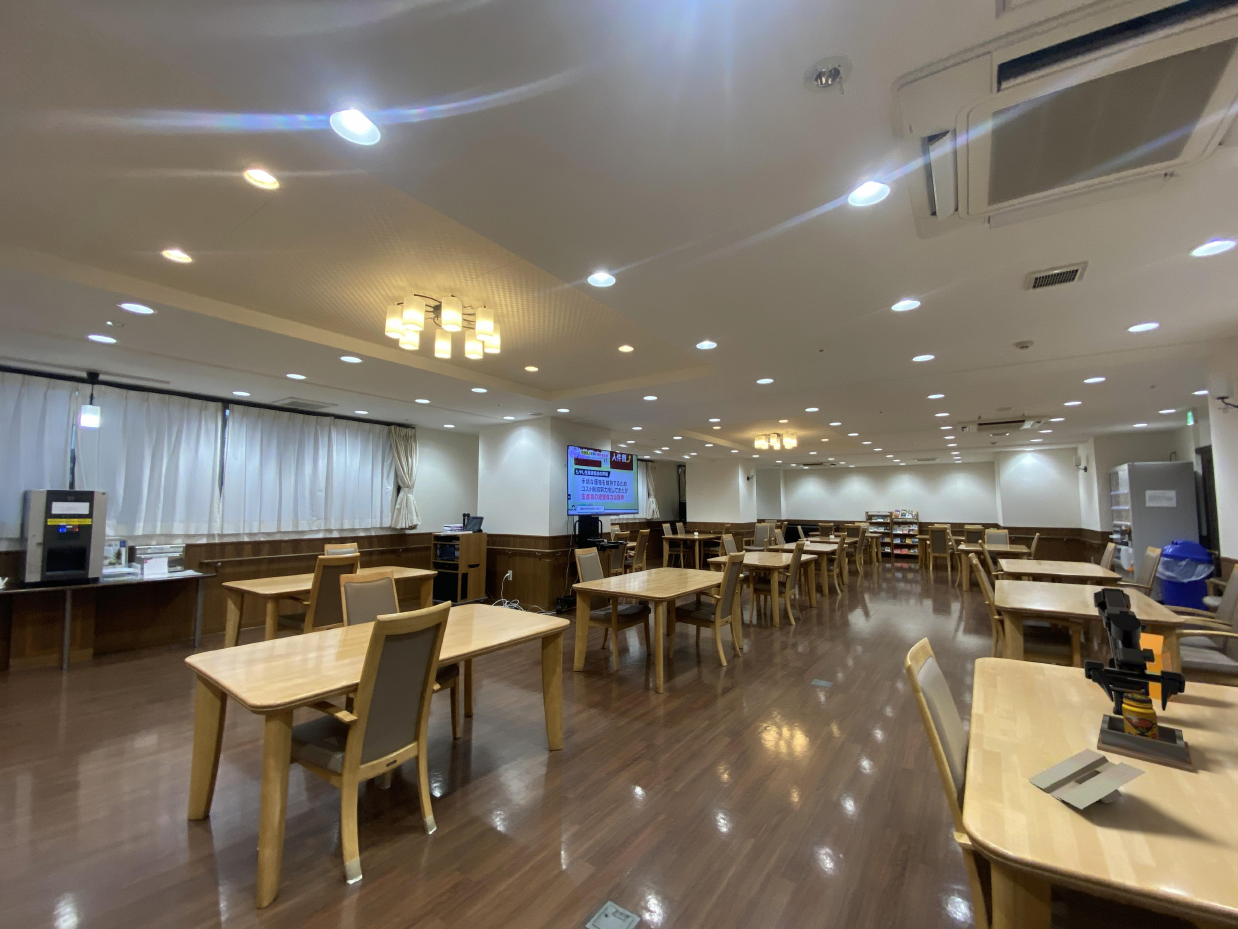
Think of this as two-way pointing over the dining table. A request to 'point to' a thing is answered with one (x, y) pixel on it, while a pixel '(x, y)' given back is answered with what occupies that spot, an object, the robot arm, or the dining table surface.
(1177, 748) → the well caddy
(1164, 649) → the orange juice
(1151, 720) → the condiment
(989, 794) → the dining table surface
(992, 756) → the dining table surface
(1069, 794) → the grey slotted panel
